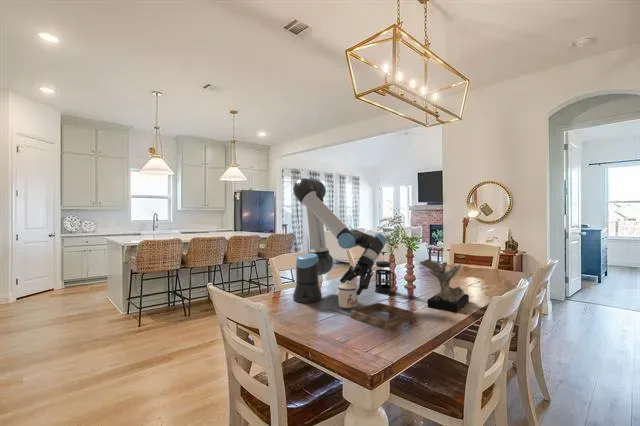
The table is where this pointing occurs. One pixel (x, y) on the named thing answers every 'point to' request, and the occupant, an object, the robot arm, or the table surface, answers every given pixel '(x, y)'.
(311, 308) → the table surface
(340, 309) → the rubber mat
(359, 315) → the wooden frame
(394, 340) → the table surface
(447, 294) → the coral
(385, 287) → the french press
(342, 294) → the teacup with lid
